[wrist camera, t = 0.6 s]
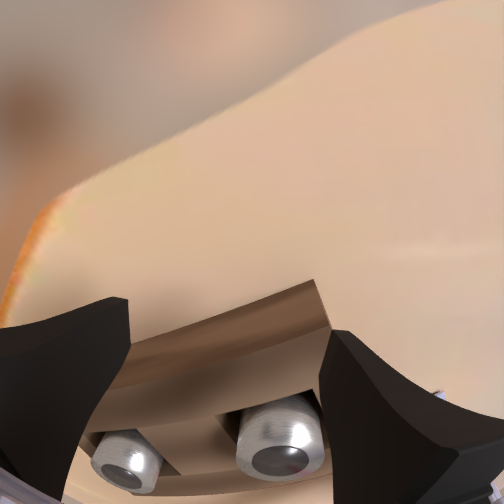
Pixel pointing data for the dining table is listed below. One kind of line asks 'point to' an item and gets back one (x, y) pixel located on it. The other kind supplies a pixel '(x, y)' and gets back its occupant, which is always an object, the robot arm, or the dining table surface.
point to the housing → (216, 389)
